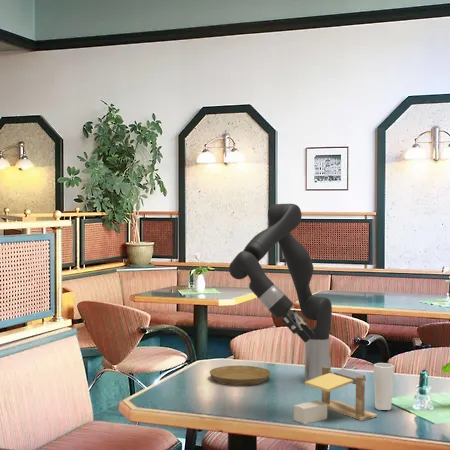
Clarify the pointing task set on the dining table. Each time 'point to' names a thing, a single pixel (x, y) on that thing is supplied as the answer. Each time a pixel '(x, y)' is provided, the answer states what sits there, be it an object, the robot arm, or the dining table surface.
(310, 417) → the white square pillar
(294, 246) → the robot arm
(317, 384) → the trapdoor
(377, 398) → the drinking glass
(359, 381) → the frame
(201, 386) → the dining table surface
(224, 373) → the plant saucer
